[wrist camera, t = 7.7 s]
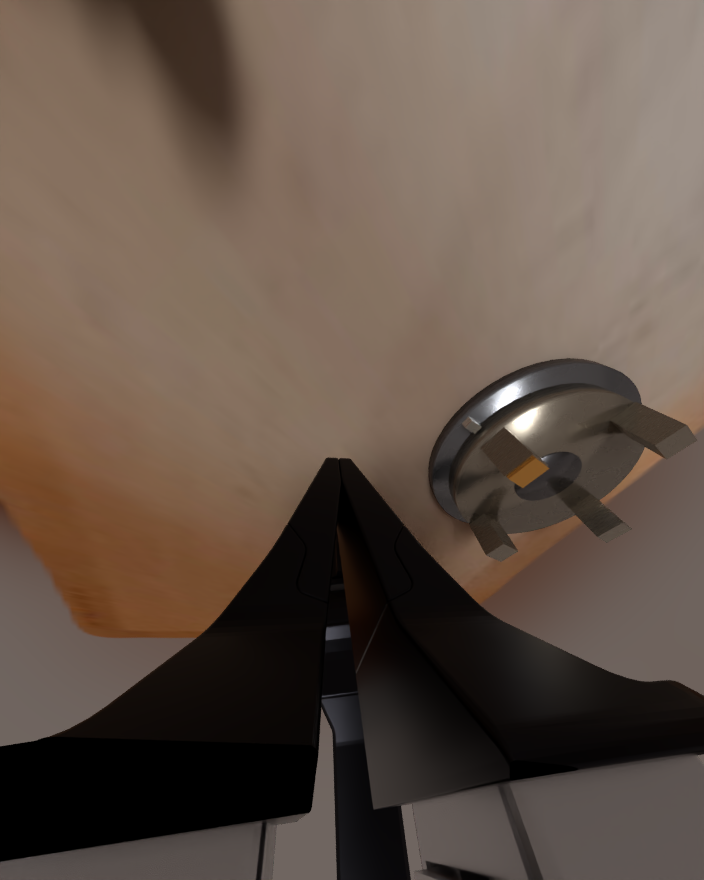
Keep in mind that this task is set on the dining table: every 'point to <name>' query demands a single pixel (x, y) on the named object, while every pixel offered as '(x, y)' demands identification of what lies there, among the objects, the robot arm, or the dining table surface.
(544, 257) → the dining table surface
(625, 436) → the round fixture plate
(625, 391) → the base plate
